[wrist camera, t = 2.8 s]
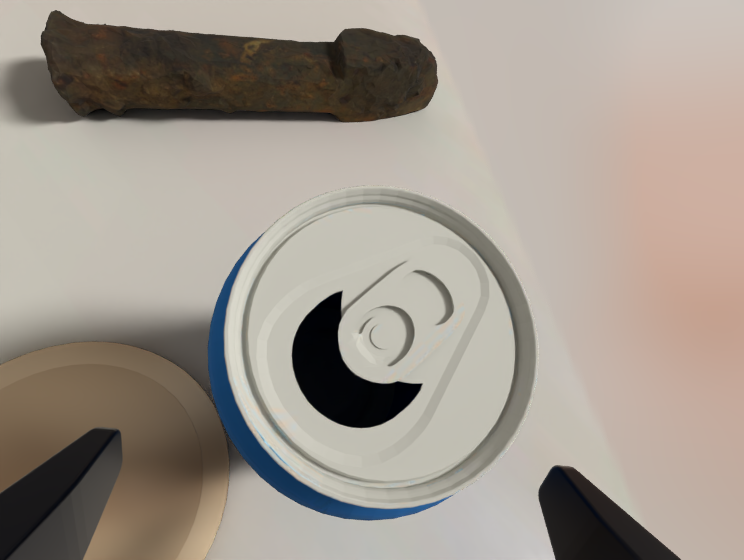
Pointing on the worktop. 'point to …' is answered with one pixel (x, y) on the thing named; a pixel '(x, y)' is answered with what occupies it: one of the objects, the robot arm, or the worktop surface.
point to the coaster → (123, 442)
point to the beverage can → (373, 353)
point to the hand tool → (237, 71)
